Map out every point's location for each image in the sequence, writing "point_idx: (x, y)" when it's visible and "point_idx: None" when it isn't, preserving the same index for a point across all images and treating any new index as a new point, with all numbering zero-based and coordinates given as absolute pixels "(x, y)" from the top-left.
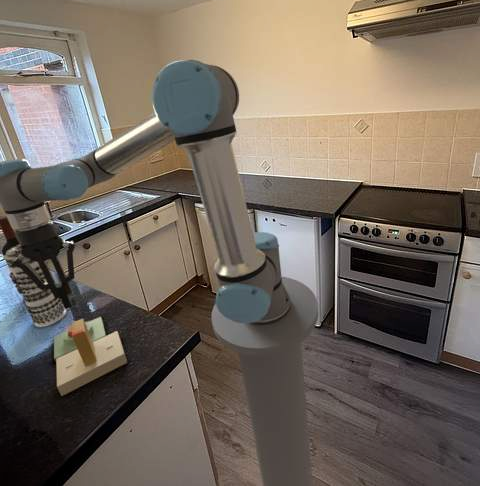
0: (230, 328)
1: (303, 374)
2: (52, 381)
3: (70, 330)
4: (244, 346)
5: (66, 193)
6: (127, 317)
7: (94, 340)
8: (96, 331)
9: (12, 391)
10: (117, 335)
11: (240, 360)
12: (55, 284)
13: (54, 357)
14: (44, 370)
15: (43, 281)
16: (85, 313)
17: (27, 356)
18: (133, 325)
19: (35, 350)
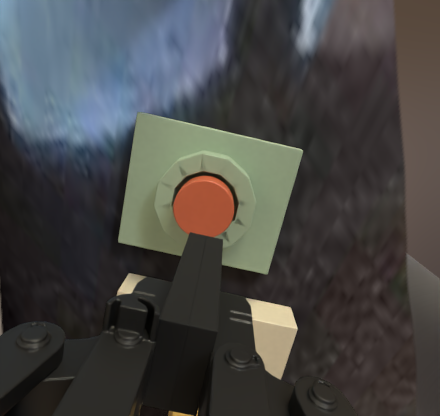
0: None
1: None
2: (103, 305)
3: (182, 216)
4: None
5: None
6: (363, 222)
7: (233, 266)
8: (255, 228)
9: (14, 252)
10: (288, 348)
11: (427, 383)
12: (146, 381)
13: (119, 238)
14: (91, 244)
15: (25, 386)
16: (274, 31)
17: (53, 123)
18: (350, 281)
19: (77, 112)
